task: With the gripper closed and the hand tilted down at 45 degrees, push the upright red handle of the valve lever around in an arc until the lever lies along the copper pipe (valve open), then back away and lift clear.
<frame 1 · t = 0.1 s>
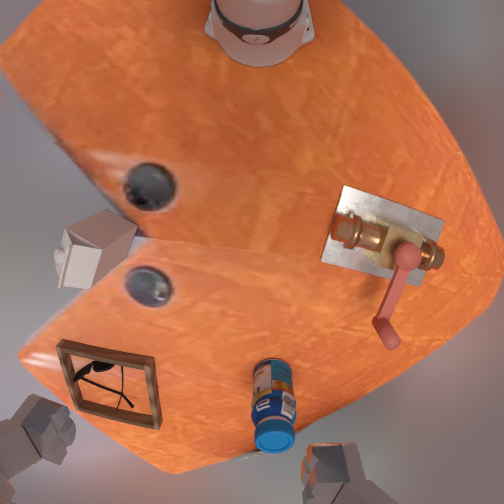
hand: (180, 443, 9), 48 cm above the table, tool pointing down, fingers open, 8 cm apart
milk carton: (117, 233, 57), on the table
sunglasses: (112, 381, 69), resting in glasses tray
beverage bottle: (272, 371, 65), on the table
lever: (401, 295, 45), point 13 cm above the table, hinge at 0.0°
valve body: (385, 239, 55), on the table
glasses tray: (112, 382, 68), on the table
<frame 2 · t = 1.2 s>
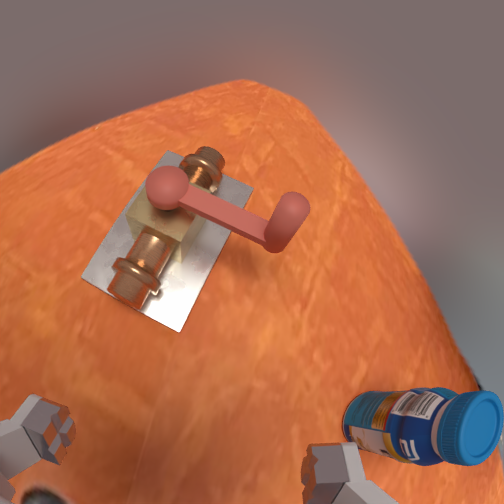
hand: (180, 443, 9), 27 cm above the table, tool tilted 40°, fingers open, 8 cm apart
beverage bottle: (367, 420, 36), on the table
lever: (218, 194, 29), point 13 cm above the table, hinge at 0.0°
valve body: (170, 231, 40), on the table
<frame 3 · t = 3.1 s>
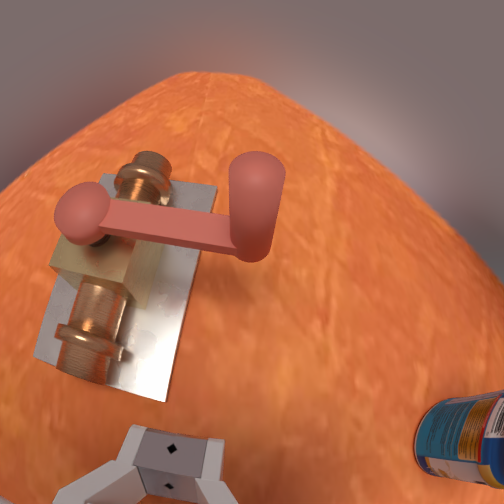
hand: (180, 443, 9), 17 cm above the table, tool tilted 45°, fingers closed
beverage bottle: (443, 437, 23), on the table
lever: (143, 198, 18), point 13 cm above the table, hinge at 0.0°
valve body: (124, 271, 29), on the table
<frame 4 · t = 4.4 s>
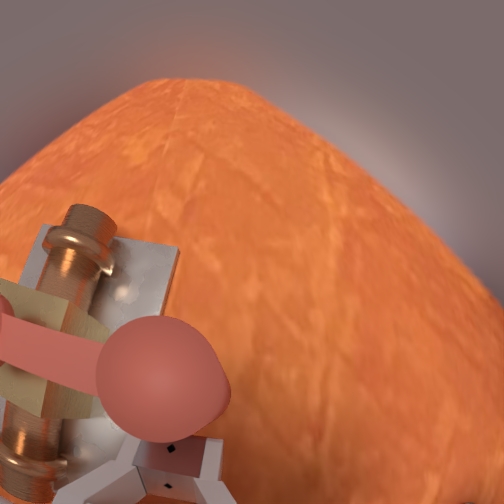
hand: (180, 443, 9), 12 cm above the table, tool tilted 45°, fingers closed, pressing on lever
lever: (20, 342, 9), point 13 cm above the table, hinge at 2.8°, touching gripper
valve body: (65, 361, 21), on the table
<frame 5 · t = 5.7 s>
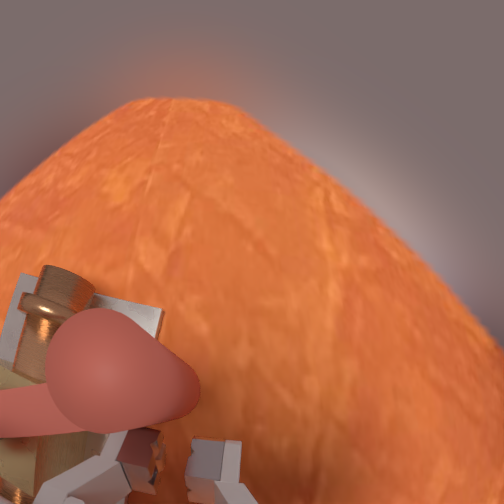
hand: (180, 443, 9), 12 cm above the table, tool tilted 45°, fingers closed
valve body: (53, 422, 18), on the table
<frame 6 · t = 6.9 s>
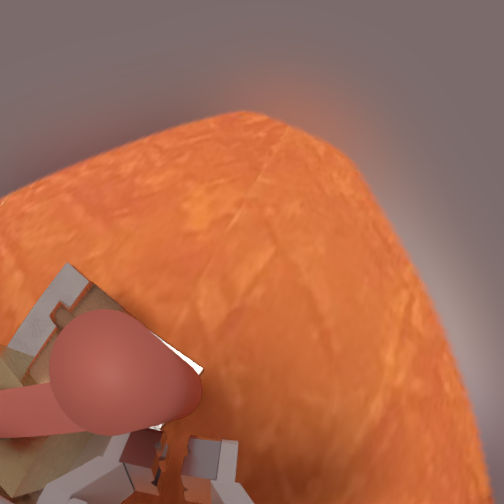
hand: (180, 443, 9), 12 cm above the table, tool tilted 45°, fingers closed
valve body: (52, 421, 18), on the table
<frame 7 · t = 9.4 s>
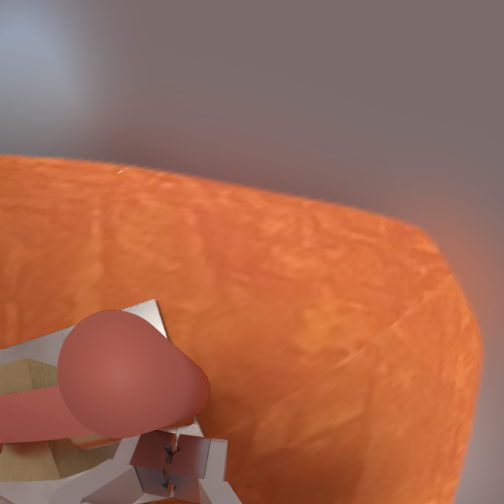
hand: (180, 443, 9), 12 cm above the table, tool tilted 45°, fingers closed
lever: (1, 413, 7), point 13 cm above the table, hinge at 87.7°, touching gripper
valve body: (58, 425, 18), on the table
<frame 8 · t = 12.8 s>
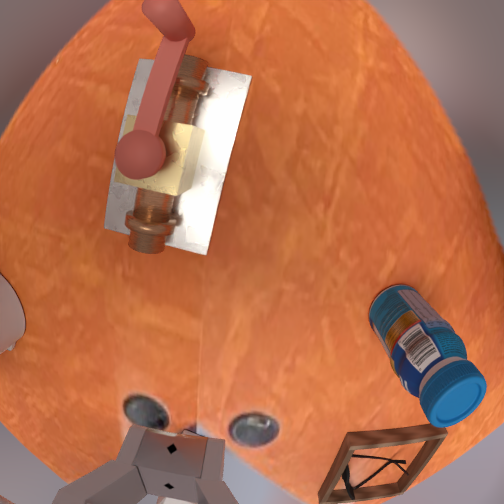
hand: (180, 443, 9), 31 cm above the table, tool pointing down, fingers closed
sunglasses: (373, 464, 53), resting in glasses tray
beverage bottle: (393, 309, 41), on the table
lever: (146, 89, 22), point 13 cm above the table, hinge at 87.7°
valve body: (171, 153, 36), on the table
glasses tray: (378, 463, 53), on the table
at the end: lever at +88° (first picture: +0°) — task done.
